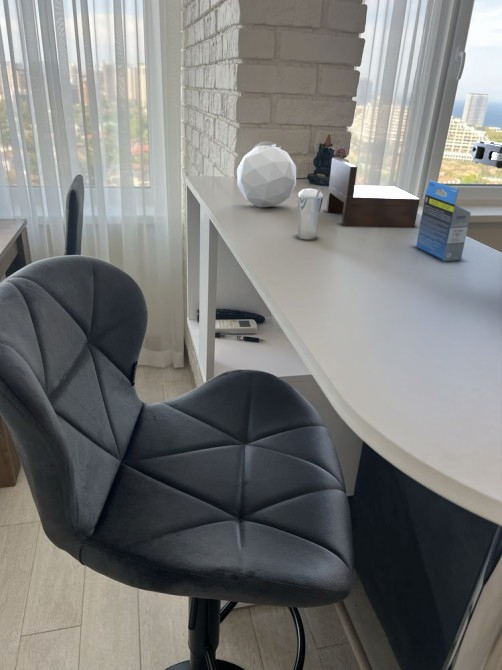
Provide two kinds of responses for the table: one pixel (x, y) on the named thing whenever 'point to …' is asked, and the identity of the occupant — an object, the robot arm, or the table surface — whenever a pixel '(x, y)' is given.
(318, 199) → the milkshake
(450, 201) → the label tape box
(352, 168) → the l-shaped wooden block
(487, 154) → the robot arm
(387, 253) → the table surface
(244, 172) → the geodesic sphere
